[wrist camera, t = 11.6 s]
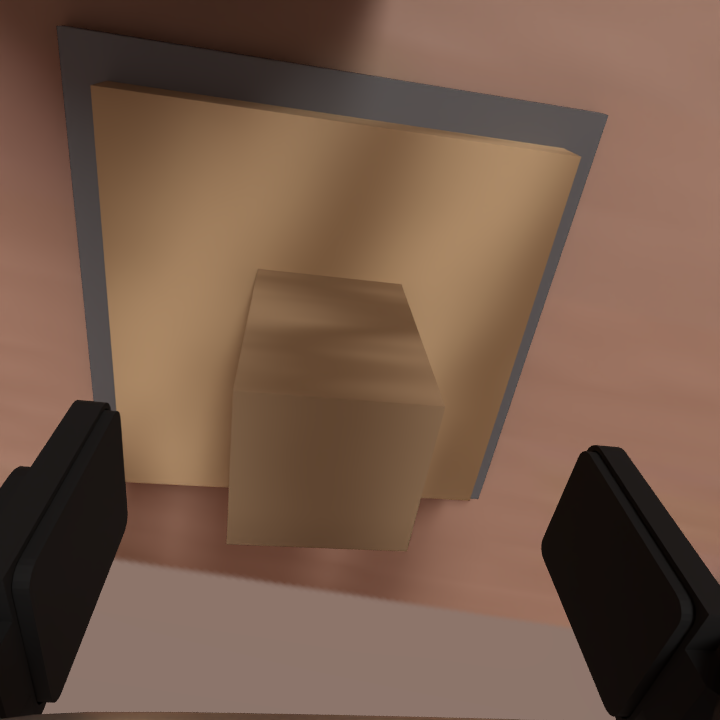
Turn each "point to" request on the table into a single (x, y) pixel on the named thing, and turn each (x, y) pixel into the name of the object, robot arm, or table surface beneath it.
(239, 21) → the table surface
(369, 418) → the oak lid
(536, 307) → the charcoal mat
